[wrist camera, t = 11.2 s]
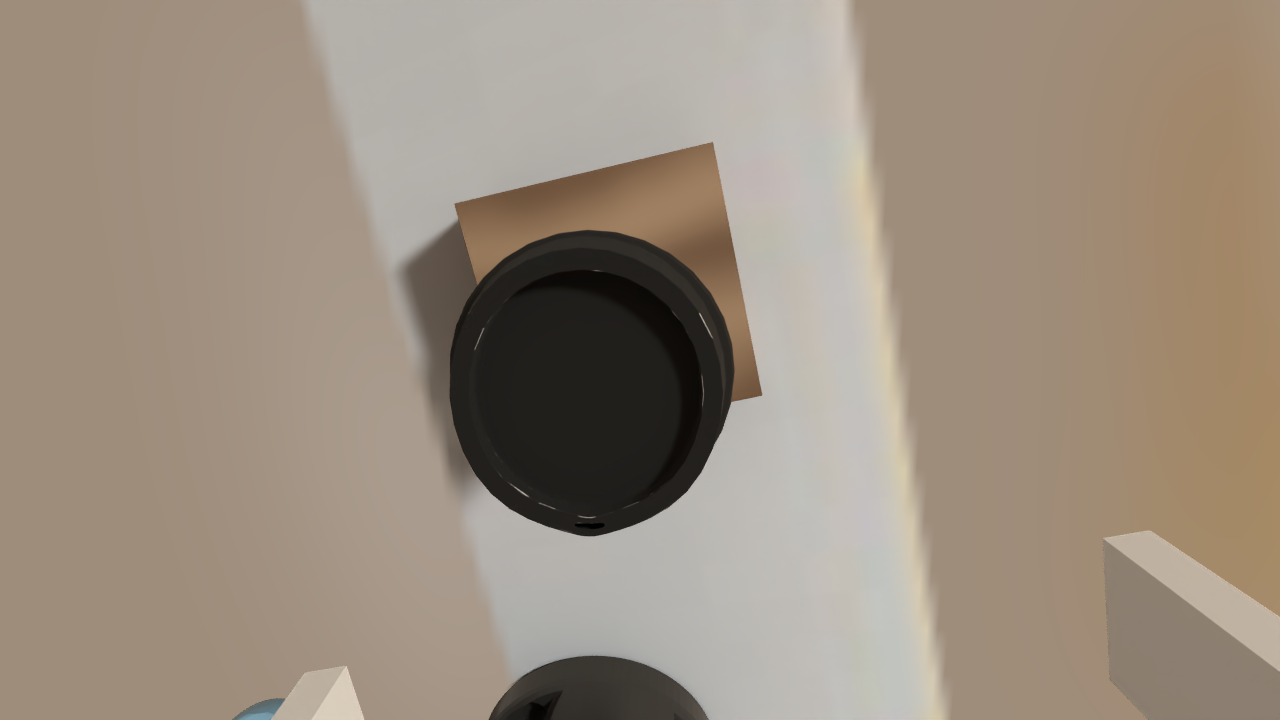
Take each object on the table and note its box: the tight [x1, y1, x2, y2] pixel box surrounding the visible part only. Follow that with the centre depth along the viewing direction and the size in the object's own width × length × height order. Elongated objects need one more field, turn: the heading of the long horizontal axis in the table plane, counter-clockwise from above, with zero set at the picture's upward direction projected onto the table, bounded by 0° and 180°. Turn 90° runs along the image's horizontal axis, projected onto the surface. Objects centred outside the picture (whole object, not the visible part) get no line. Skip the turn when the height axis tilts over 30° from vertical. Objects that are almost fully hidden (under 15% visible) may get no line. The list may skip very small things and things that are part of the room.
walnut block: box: [454, 142, 762, 402], centre depth 35 cm, size 12×12×5 cm
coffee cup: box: [450, 230, 735, 536], centre depth 25 cm, size 8×8×15 cm
